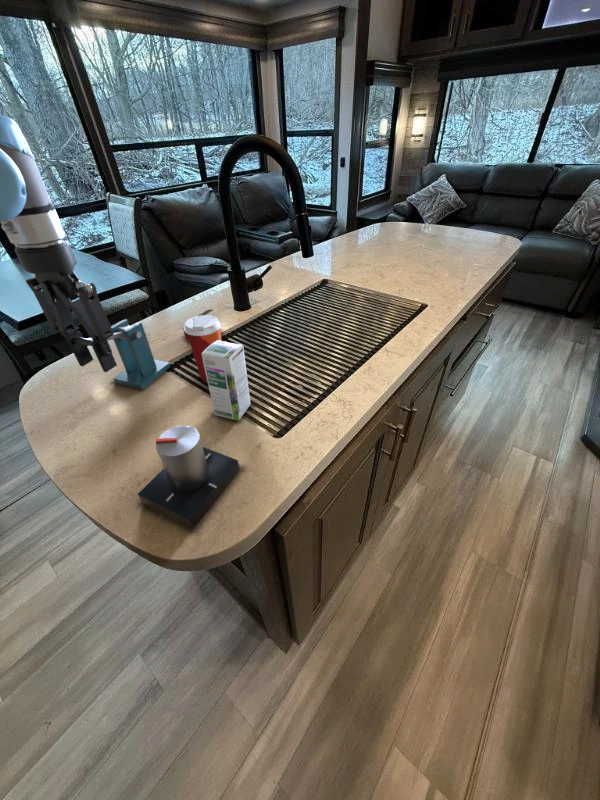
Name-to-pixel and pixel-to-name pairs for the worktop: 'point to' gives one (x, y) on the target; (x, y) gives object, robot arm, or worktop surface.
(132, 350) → the teal lever stand
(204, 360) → the syrup box
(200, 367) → the paper cup
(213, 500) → the control panel
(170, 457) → the dial
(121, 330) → the lever
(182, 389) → the worktop surface
